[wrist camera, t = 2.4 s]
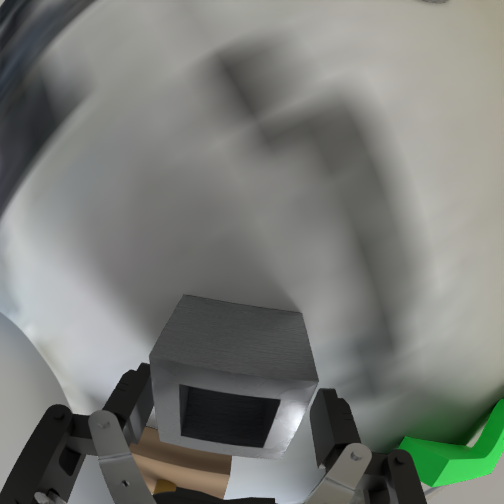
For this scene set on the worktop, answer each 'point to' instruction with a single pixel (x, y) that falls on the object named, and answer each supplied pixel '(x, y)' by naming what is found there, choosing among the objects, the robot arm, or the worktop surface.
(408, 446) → the bracket
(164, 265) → the worktop surface
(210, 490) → the keeper
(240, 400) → the link
